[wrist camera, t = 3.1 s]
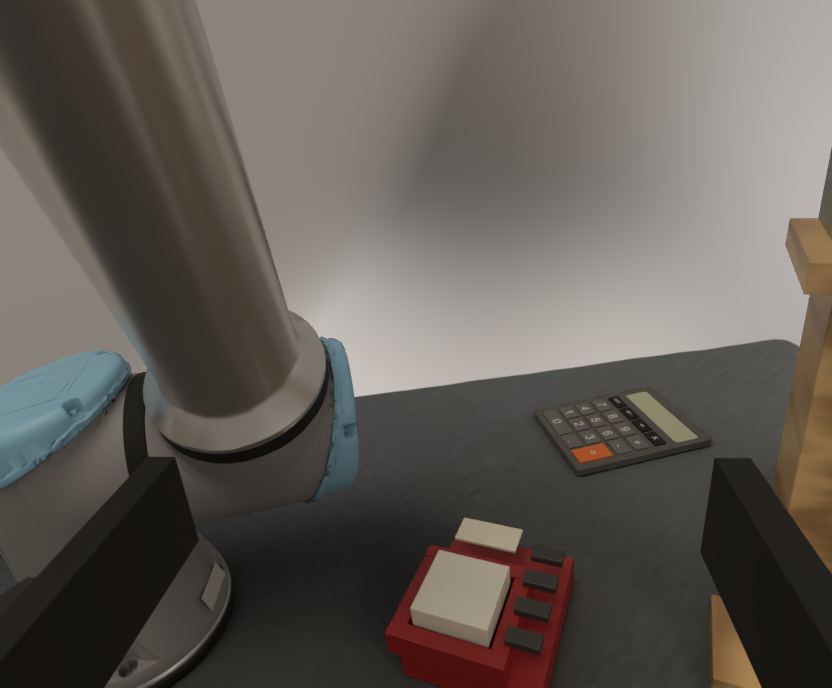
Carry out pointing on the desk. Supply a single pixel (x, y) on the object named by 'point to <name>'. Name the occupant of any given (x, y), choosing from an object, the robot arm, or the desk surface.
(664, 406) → the calculator
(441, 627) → the white block
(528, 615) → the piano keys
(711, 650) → the stand
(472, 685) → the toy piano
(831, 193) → the mallet
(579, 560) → the desk surface
